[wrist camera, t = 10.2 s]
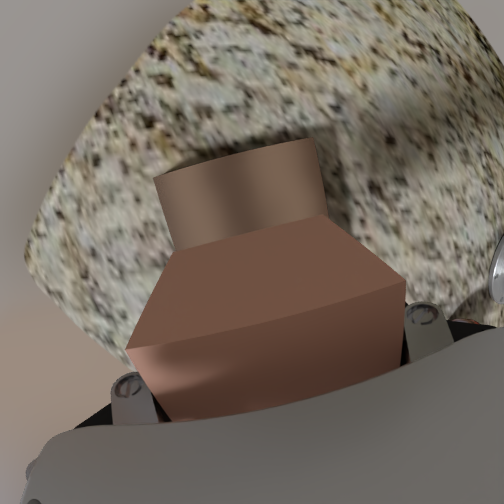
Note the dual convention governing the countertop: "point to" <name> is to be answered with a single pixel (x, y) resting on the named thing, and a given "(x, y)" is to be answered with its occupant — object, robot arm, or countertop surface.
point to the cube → (268, 320)
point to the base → (242, 193)
